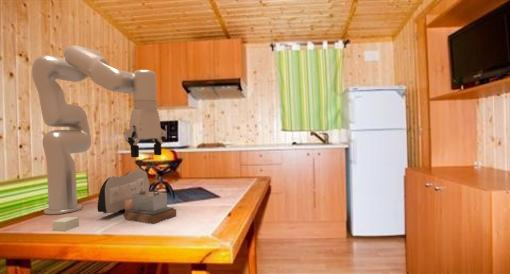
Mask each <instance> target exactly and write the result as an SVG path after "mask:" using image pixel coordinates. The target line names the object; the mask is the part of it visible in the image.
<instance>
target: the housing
mask: <svg viewBox="0 0 510 274" xmlns="http://www.w3.org/2000/svg"><path fill="white" fill-rule="evenodd" d="M167 196H168V195H167V192H160V191H149V192H148V191H146V192H145V191H140V193H137V194H132V202H133V210H139V211H146V212H157V211H160V210H163V209H166V208H167V207H168V197H167Z"/></svg>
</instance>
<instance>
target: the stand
mask: <svg viewBox="0 0 510 274" xmlns="http://www.w3.org/2000/svg"><path fill="white" fill-rule="evenodd" d="M123 212H124V213H123V216H124V217H123V220H125V219H127V220H126V221H132V220H133V221H132V222H138V221H139V223H144V222H145V224H150V223H151V224H152V225H154V224H157V223H161V222H164V221H165V220H166V219H167V220H169V219H172V218H174V217H177V209H176V208H174V207H171V206H167V208H166V209H163V210H160V211H157V212H146V211H139V210H133V209H129V210H126V212H125V211H123ZM163 220H164V221H163ZM160 221H161V222H160Z"/></svg>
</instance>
